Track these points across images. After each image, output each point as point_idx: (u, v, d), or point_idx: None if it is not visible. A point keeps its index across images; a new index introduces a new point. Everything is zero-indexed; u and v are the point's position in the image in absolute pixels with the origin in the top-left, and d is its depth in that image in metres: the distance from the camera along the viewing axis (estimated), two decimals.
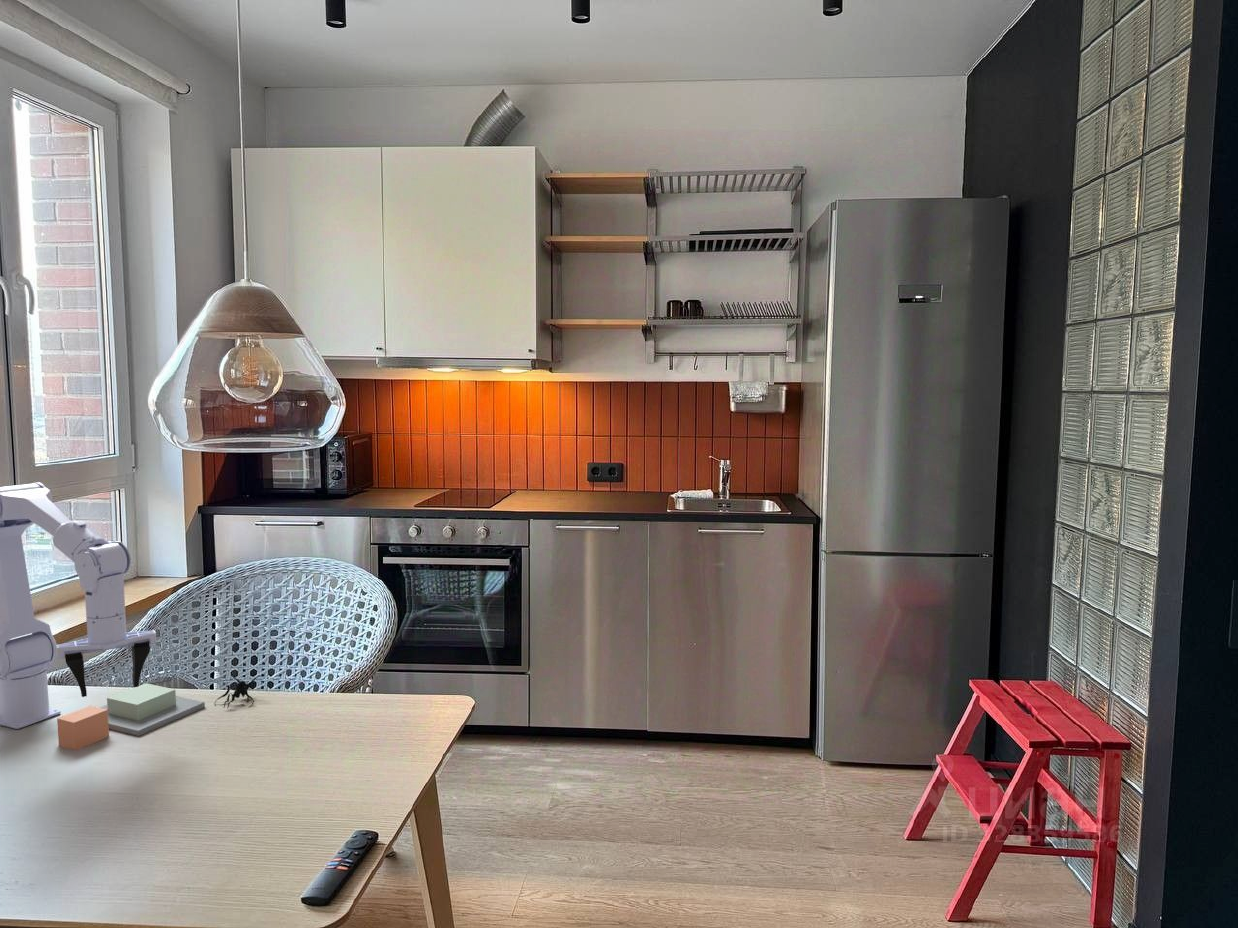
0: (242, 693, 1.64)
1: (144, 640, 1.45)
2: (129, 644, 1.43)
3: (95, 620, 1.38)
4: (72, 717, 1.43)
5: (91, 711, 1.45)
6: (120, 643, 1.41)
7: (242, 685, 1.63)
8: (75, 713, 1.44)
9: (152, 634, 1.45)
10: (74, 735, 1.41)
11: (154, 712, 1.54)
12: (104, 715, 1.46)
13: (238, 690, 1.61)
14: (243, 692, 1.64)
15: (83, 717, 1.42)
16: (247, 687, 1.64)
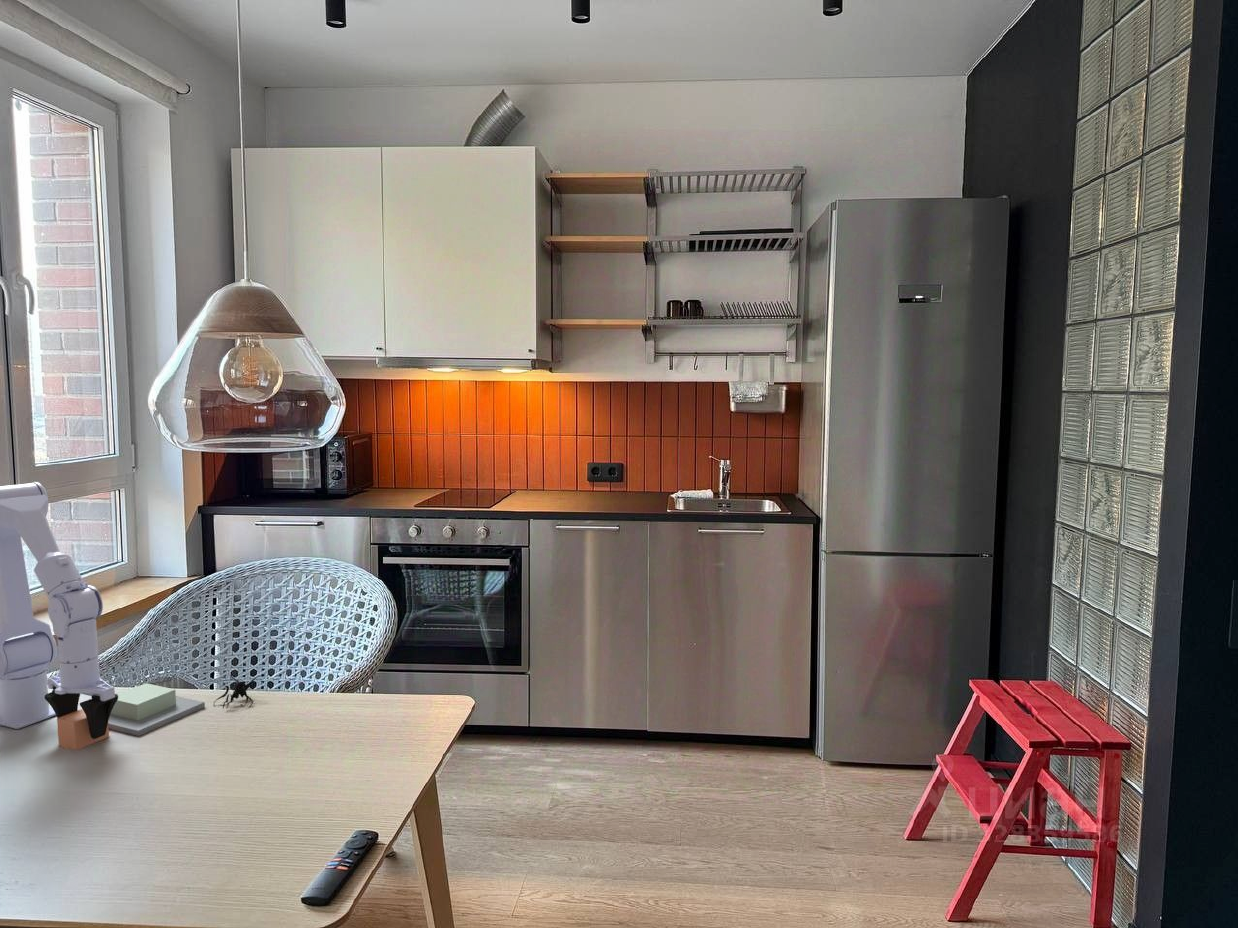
0: (241, 694, 1.63)
1: None
2: (91, 694, 1.42)
3: (59, 662, 1.42)
4: (72, 717, 1.43)
5: None
6: (72, 691, 1.40)
7: (241, 686, 1.63)
8: (75, 713, 1.44)
9: (101, 691, 1.40)
10: (74, 735, 1.41)
11: (154, 712, 1.54)
12: None
13: (237, 691, 1.61)
14: (242, 693, 1.63)
15: (83, 717, 1.42)
16: (246, 688, 1.64)
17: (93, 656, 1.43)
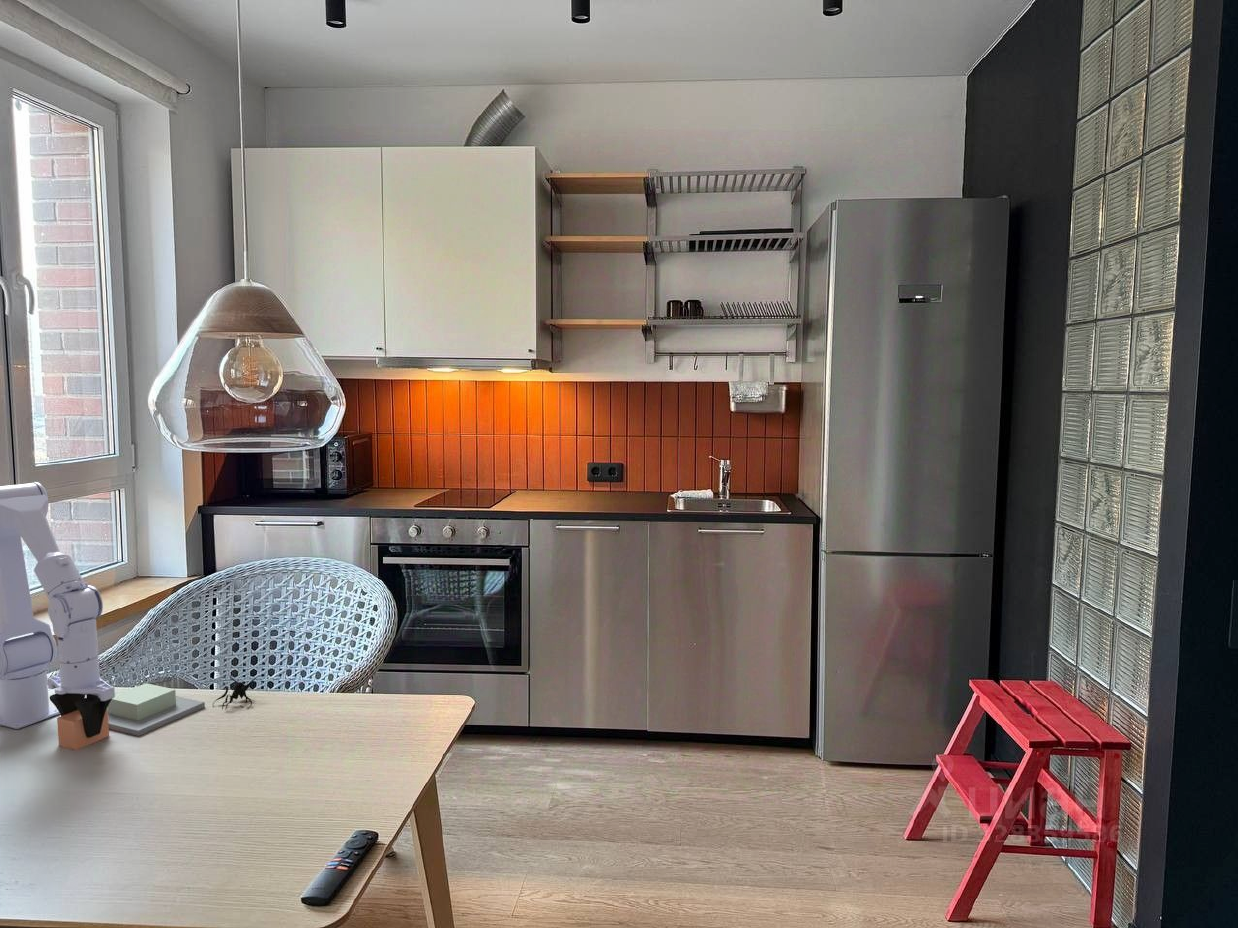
0: (240, 694, 1.63)
1: None
2: (91, 694, 1.42)
3: (59, 662, 1.42)
4: (72, 717, 1.43)
5: None
6: (72, 691, 1.40)
7: (240, 686, 1.63)
8: (75, 712, 1.44)
9: (101, 691, 1.40)
10: (74, 734, 1.41)
11: (154, 712, 1.54)
12: (104, 715, 1.46)
13: (236, 691, 1.61)
14: (241, 693, 1.63)
15: None
16: (245, 688, 1.64)
17: (93, 656, 1.43)
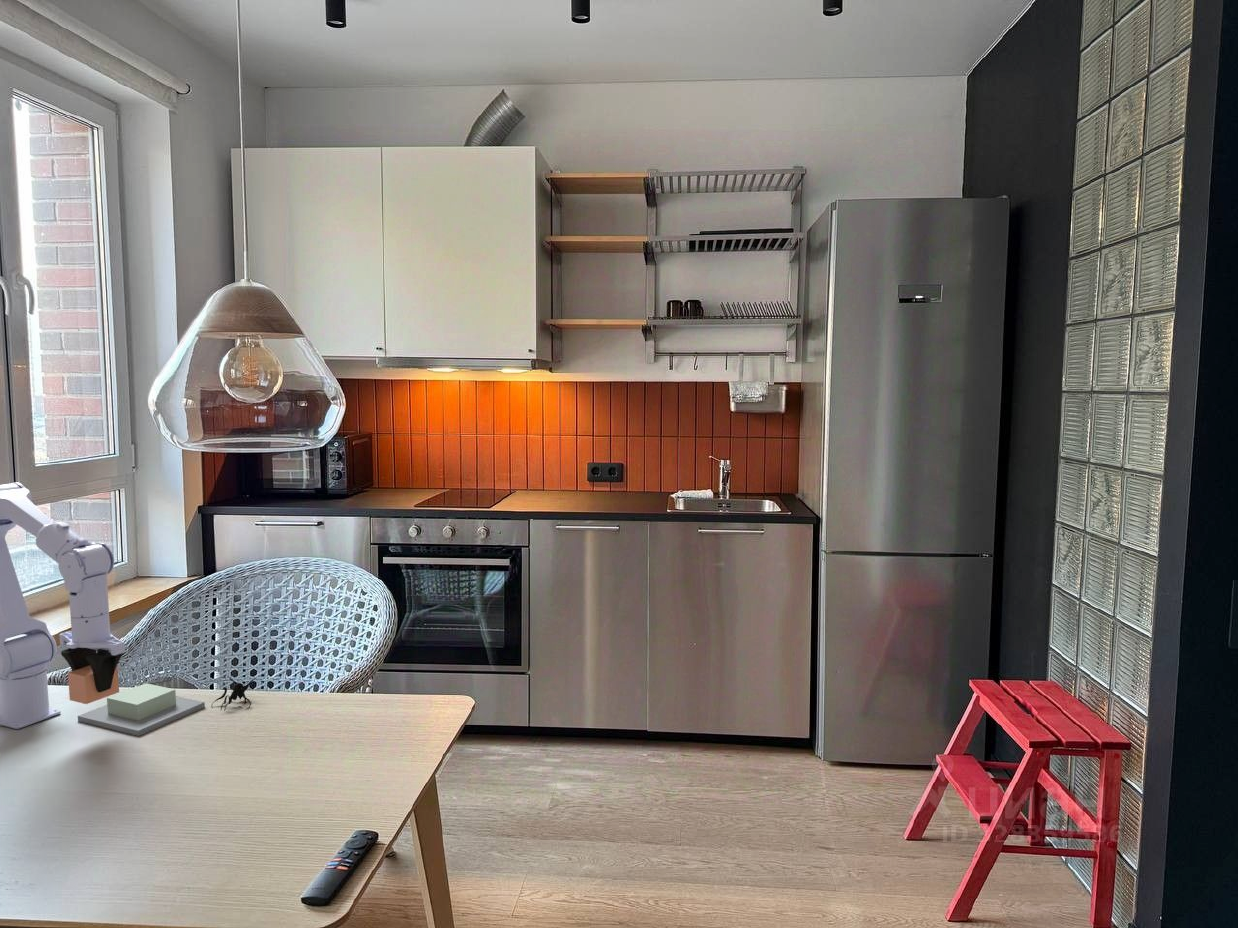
0: (239, 695, 1.63)
1: (111, 649, 1.43)
2: (102, 649, 1.44)
3: None
4: (83, 672, 1.44)
5: None
6: (83, 645, 1.42)
7: (239, 687, 1.62)
8: (86, 668, 1.46)
9: (111, 645, 1.42)
10: (84, 689, 1.42)
11: (154, 712, 1.54)
12: None
13: (235, 692, 1.60)
14: (240, 694, 1.62)
15: None
16: (244, 689, 1.63)
17: (106, 611, 1.45)
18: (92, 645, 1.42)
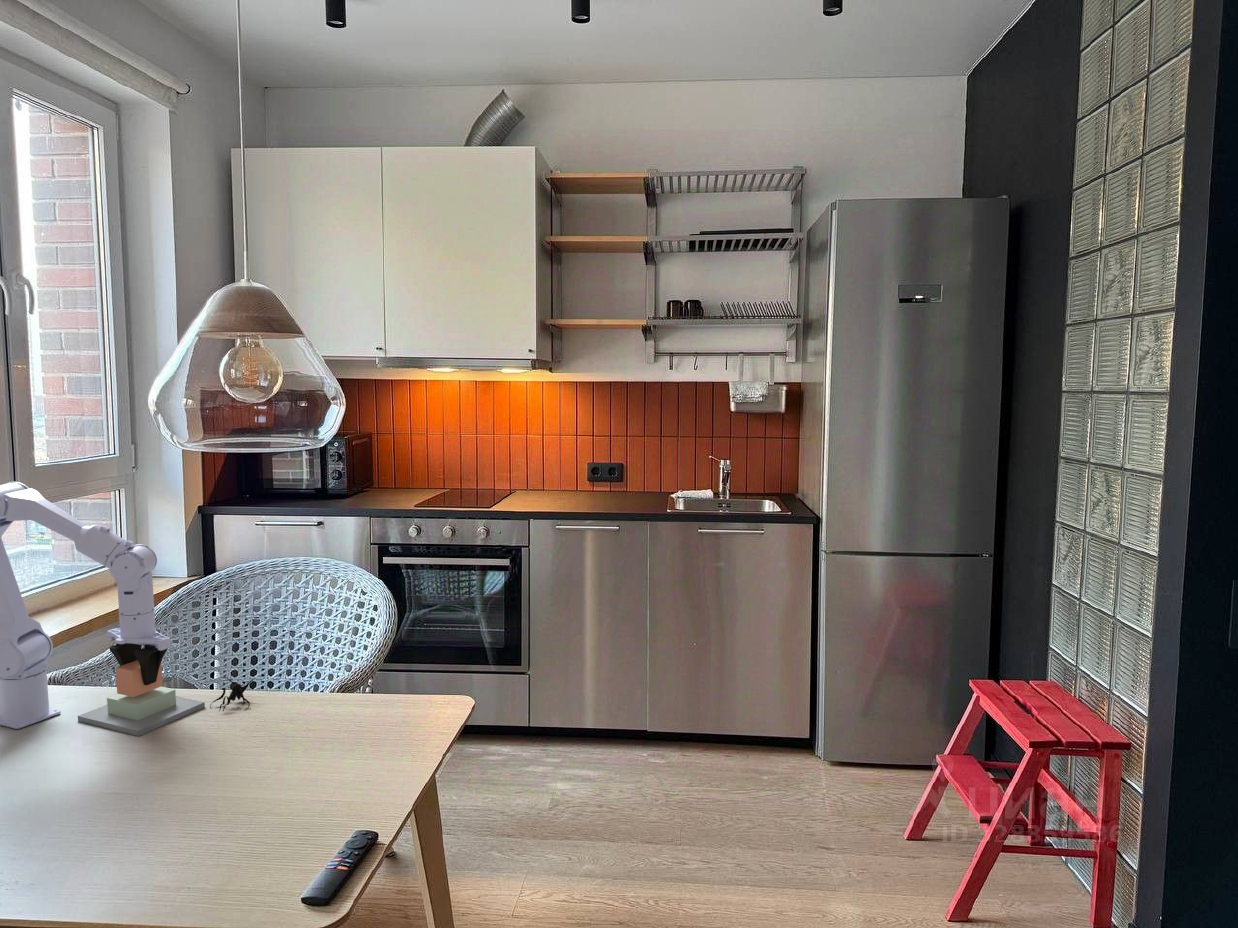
0: (238, 696, 1.62)
1: None
2: (149, 644, 1.53)
3: (119, 615, 1.52)
4: (130, 666, 1.53)
5: None
6: (131, 641, 1.51)
7: (238, 688, 1.62)
8: (131, 663, 1.55)
9: (158, 641, 1.51)
10: (132, 682, 1.51)
11: (154, 712, 1.54)
12: None
13: (234, 693, 1.60)
14: (239, 695, 1.62)
15: None
16: (243, 690, 1.63)
17: None
18: (140, 641, 1.51)
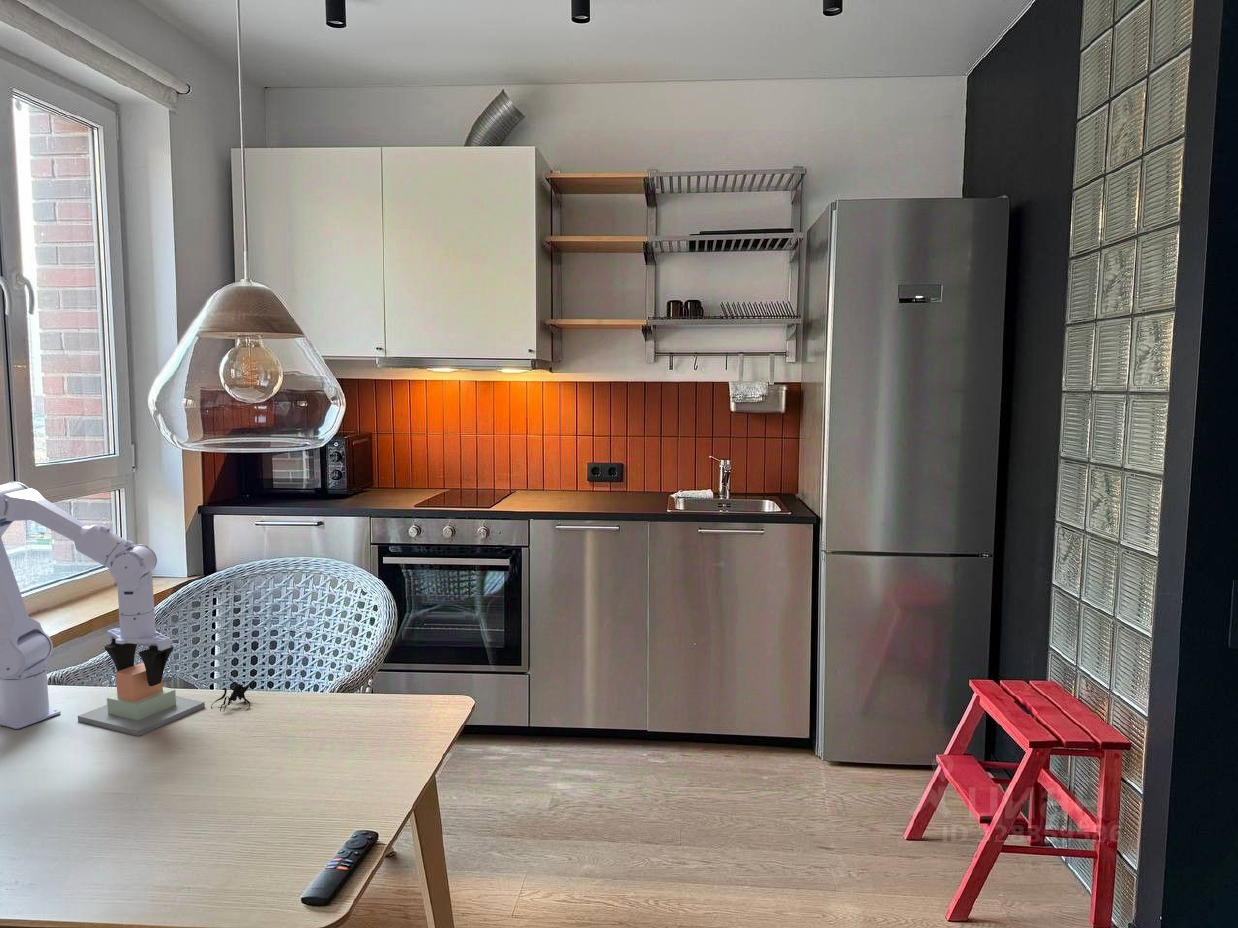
0: (239, 696, 1.62)
1: None
2: (149, 644, 1.53)
3: (119, 615, 1.52)
4: (130, 671, 1.53)
5: None
6: (131, 641, 1.51)
7: (239, 688, 1.62)
8: (132, 668, 1.55)
9: (158, 641, 1.51)
10: (132, 687, 1.52)
11: (154, 712, 1.54)
12: None
13: (235, 693, 1.60)
14: (240, 695, 1.62)
15: (140, 671, 1.53)
16: (244, 690, 1.63)
17: None
18: (140, 641, 1.51)
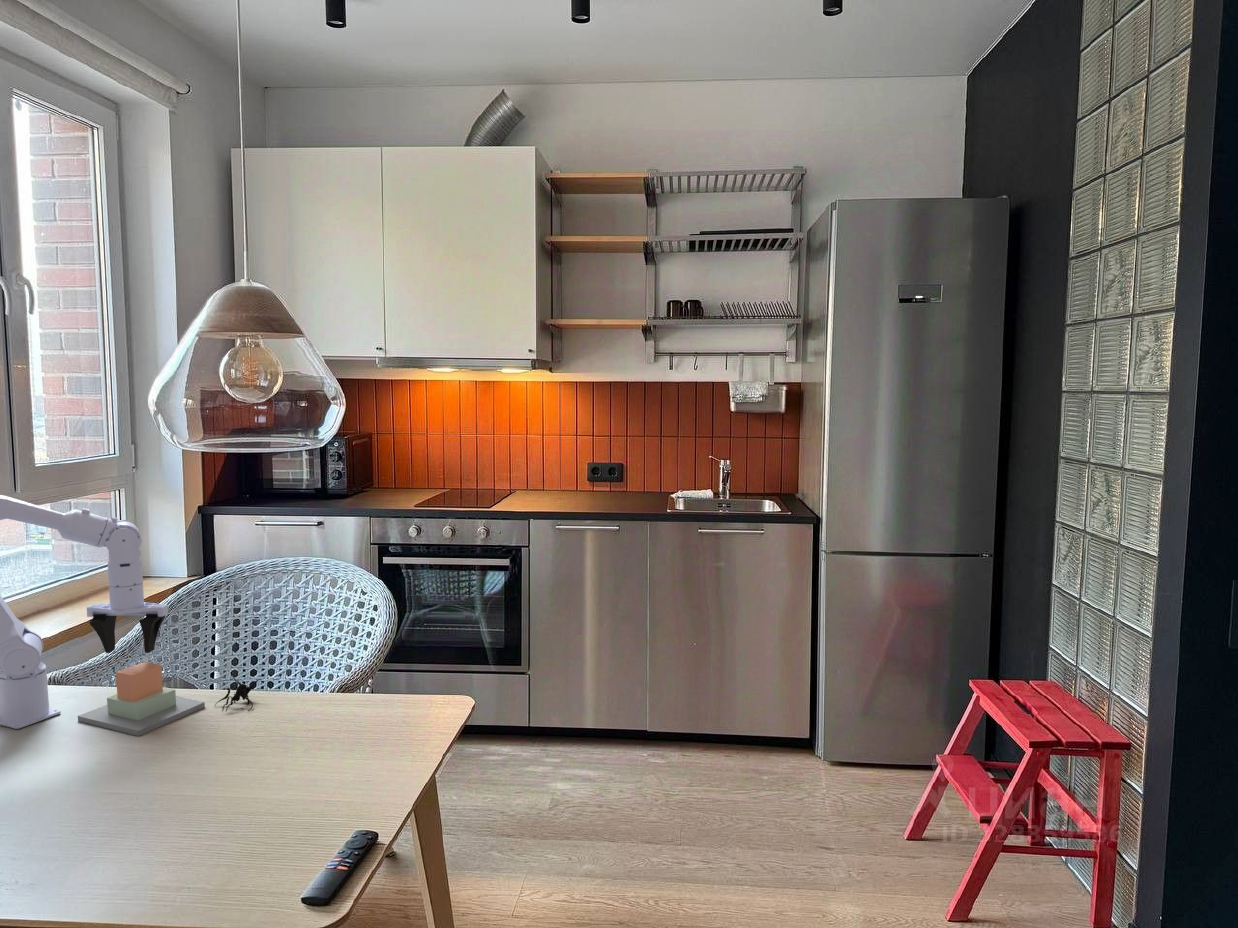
0: (243, 696, 1.62)
1: (155, 612, 1.61)
2: (143, 613, 1.61)
3: (110, 588, 1.58)
4: (130, 671, 1.53)
5: (146, 666, 1.56)
6: (128, 611, 1.58)
7: (243, 688, 1.62)
8: (132, 668, 1.55)
9: (159, 608, 1.60)
10: (132, 687, 1.52)
11: (154, 712, 1.54)
12: (159, 670, 1.56)
13: (238, 693, 1.60)
14: (244, 695, 1.62)
15: (140, 671, 1.53)
16: (248, 690, 1.63)
17: None
18: (138, 610, 1.59)
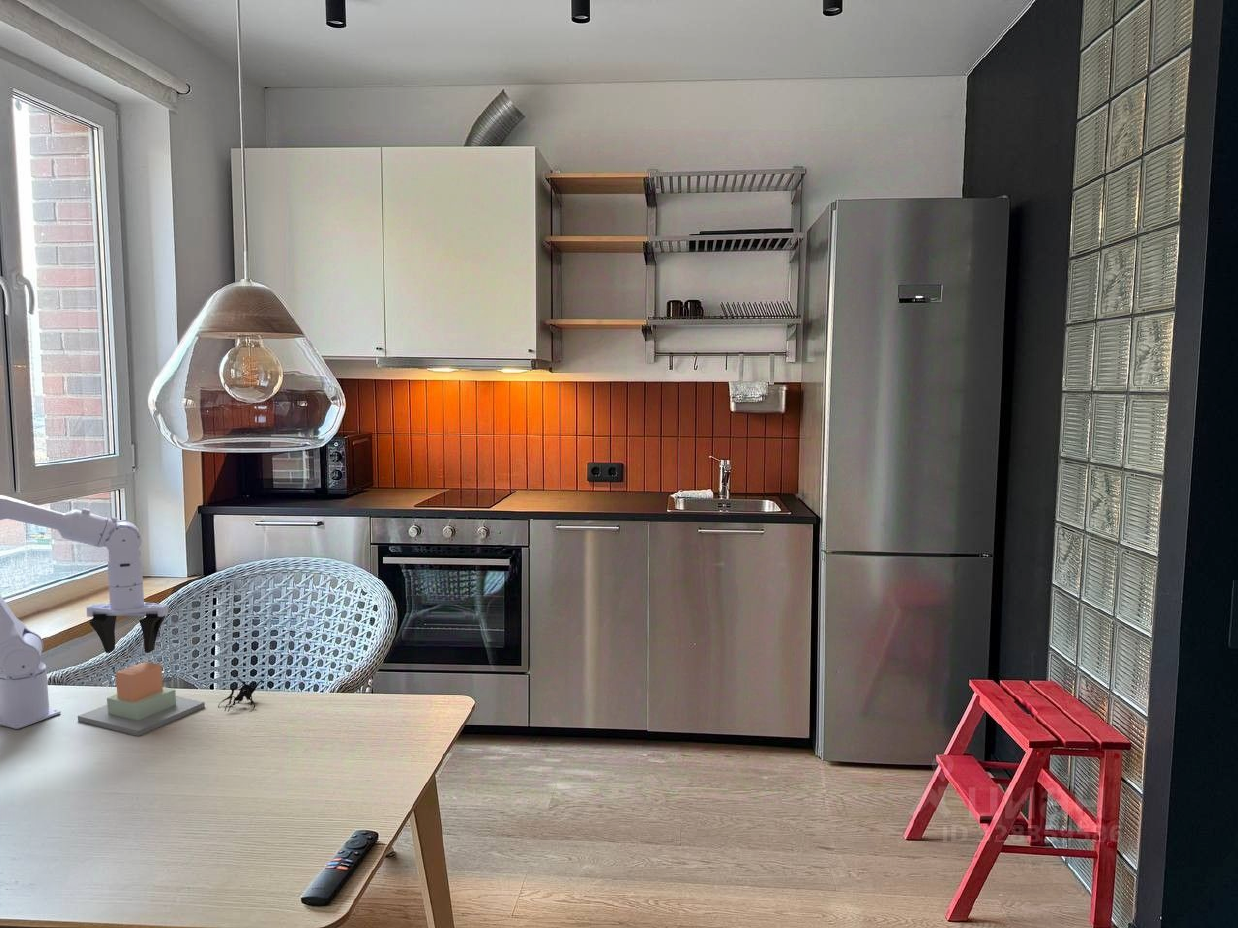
0: (247, 696, 1.62)
1: (155, 612, 1.61)
2: (143, 613, 1.61)
3: (110, 588, 1.58)
4: (130, 671, 1.53)
5: (146, 666, 1.56)
6: (128, 611, 1.58)
7: (247, 688, 1.62)
8: (132, 668, 1.55)
9: (159, 608, 1.60)
10: (132, 687, 1.52)
11: (154, 712, 1.54)
12: (159, 670, 1.56)
13: (241, 693, 1.60)
14: (248, 695, 1.62)
15: (140, 671, 1.53)
16: (252, 690, 1.63)
17: None
18: (138, 610, 1.59)
